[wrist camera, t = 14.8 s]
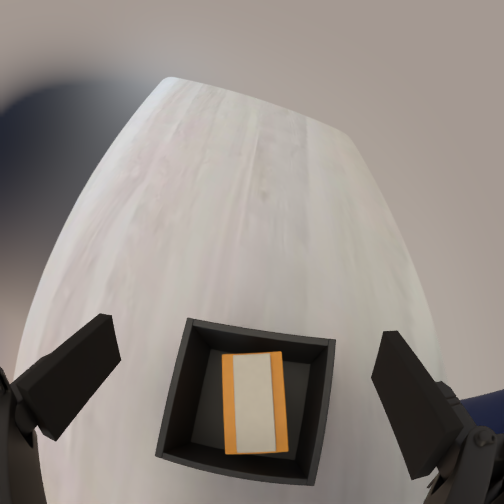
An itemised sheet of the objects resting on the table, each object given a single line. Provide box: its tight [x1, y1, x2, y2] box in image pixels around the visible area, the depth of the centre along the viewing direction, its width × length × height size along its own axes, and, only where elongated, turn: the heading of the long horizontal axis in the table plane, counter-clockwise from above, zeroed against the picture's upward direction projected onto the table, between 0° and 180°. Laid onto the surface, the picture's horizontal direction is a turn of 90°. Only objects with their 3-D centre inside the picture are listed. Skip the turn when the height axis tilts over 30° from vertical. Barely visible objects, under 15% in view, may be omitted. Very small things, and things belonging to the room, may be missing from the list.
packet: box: [222, 351, 289, 454], centre depth 21 cm, size 4×7×13 cm, turn 3°
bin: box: [155, 318, 336, 486], centre depth 23 cm, size 12×12×10 cm
